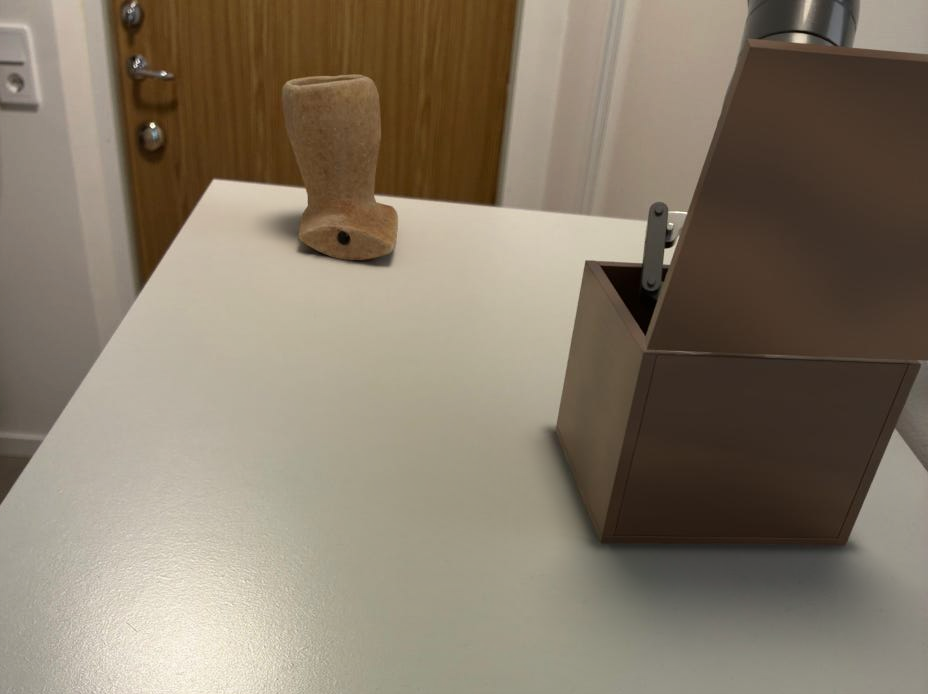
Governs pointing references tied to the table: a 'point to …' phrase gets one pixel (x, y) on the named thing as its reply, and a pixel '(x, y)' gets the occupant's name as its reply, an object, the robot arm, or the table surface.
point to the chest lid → (808, 211)
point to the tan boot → (339, 165)
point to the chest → (716, 430)
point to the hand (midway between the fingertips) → (721, 381)
